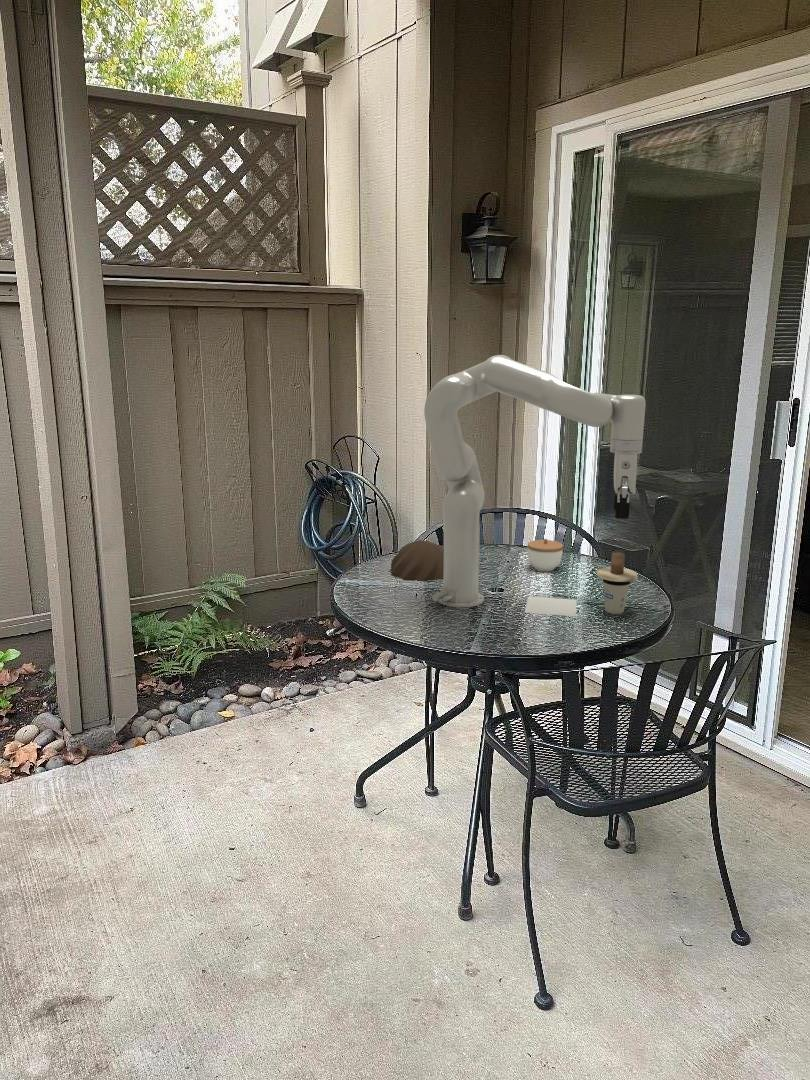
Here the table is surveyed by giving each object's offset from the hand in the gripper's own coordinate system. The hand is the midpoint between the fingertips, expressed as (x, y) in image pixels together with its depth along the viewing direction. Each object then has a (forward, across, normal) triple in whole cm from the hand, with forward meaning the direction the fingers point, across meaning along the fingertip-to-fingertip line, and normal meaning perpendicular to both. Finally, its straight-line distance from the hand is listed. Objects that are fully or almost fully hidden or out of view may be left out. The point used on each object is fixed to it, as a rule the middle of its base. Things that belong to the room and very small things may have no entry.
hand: (621, 514), depth 195 cm
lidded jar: (+26, +36, +20) cm, 49 cm away
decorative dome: (+27, +24, +56) cm, 66 cm away
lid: (+16, 0, 0) cm, 16 cm away
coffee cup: (+26, 0, 0) cm, 26 cm away
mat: (+26, 0, +16) cm, 31 cm away
